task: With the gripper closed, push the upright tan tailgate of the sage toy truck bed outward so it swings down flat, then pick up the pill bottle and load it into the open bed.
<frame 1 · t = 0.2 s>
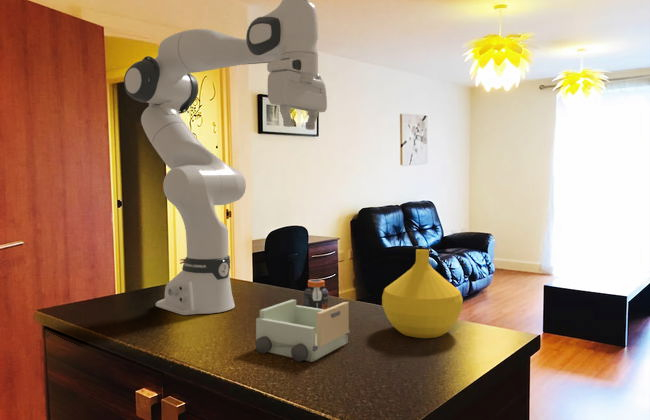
hand: (299, 128, 124), 47 cm above the kitchen counter, fingers open, 8 cm apart
tailgate: (333, 323, 107), point 6 cm above the kitchen counter, hinge at 0.0°
vase: (421, 332, 122), on the kitchen counter
truck bed: (303, 345, 112), on the kitchen counter
pill bottle: (316, 327, 126), on the kitchen counter
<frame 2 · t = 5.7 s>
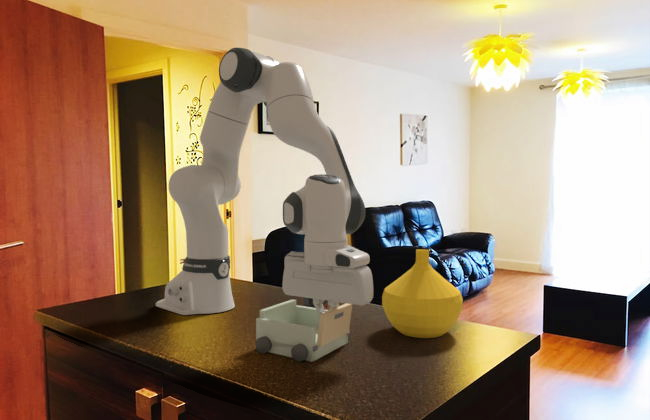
hand: (326, 320, 108), 6 cm above the kitchen counter, fingers closed
tailgate: (335, 323, 107), point 6 cm above the kitchen counter, hinge at 8.3°, touching gripper
everything else where it was.
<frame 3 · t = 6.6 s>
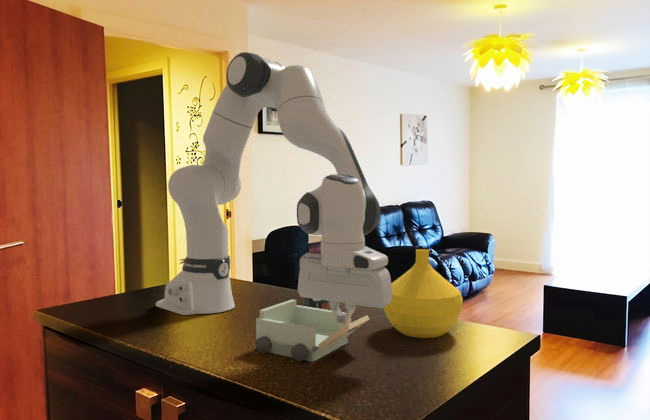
hand: (342, 323, 106), 6 cm above the kitchen counter, fingers closed
tailgate: (345, 332, 106), point 5 cm above the kitchen counter, hinge at 50.9°
everything else where it was.
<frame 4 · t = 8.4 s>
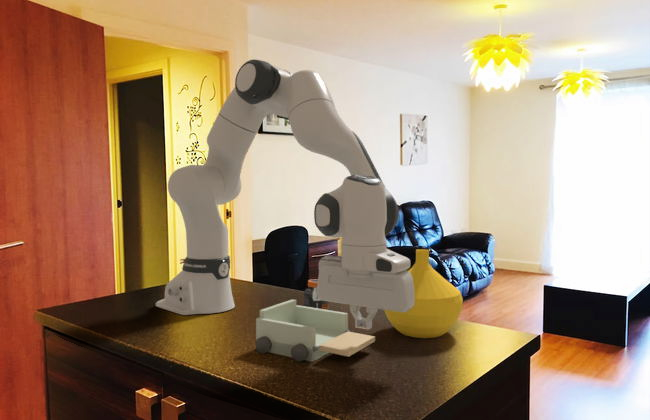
hand: (363, 328, 103), 6 cm above the kitchen counter, fingers closed
tailgate: (348, 343, 106), point 2 cm above the kitchen counter, hinge at 90.4°
everything else where it was.
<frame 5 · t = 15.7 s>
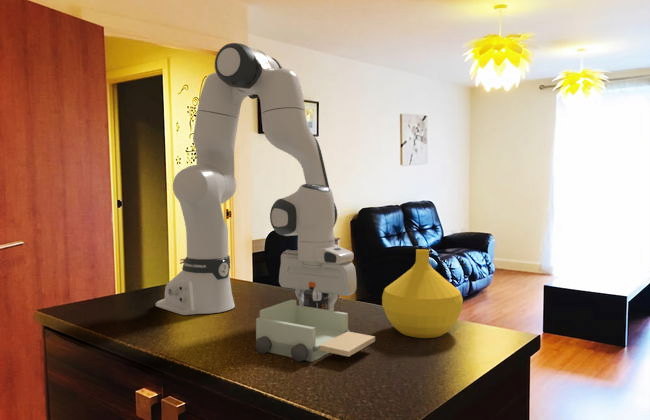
hand: (316, 309, 126), 4 cm above the kitchen counter, fingers closed on pill bottle, 6 cm apart
pill bottle: (316, 327, 126), on the kitchen counter, touching gripper
everything else where it was.
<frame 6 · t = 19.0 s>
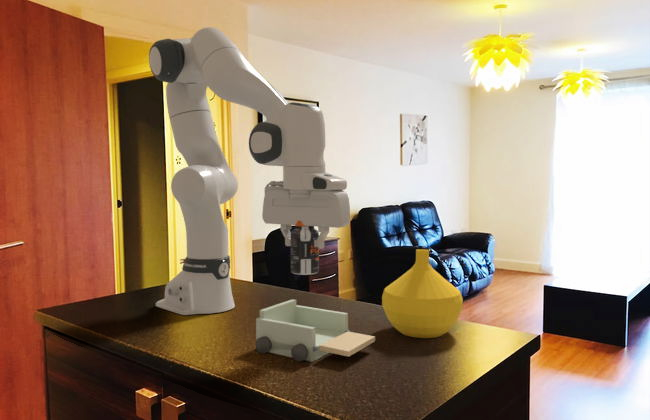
hand: (304, 247, 110), 21 cm above the kitchen counter, fingers closed on pill bottle, 6 cm apart
pill bottle: (304, 273, 111), point 16 cm above the kitchen counter, touching gripper
everything else where it was.
when the fingers open (8 cm above the kitchen counter, at t = 22.1 s): pill bottle stays where it is, resting on truck bed.
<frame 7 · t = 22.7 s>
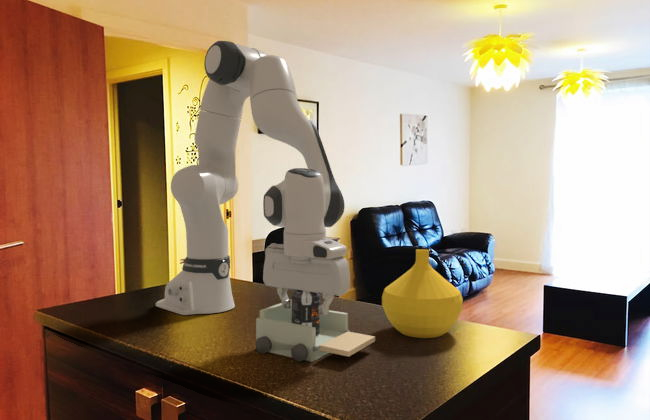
hand: (304, 311, 111), 8 cm above the kitchen counter, fingers open, 8 cm apart
pill bottle: (305, 335, 111), point 2 cm above the kitchen counter, touching truck bed
everything else where it was.
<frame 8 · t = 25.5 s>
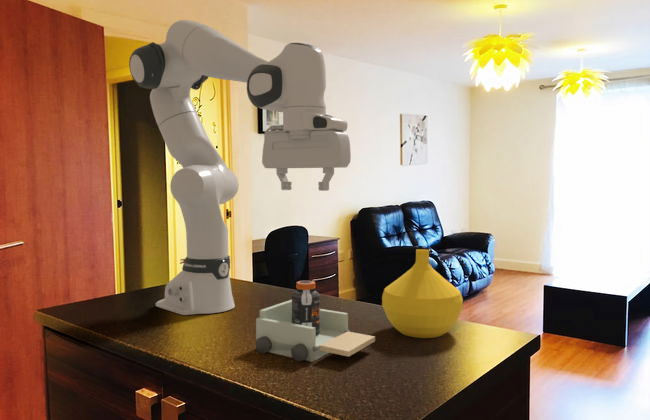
hand: (304, 190, 109), 33 cm above the kitchen counter, fingers open, 8 cm apart
nothing on the kitchen counter moved.
at the end: tailgate at +90° (first picture: +0°); pill bottle inside the target area on the truck bed (0.6 cm from its centre), point 2.3 cm above the truck bed's base; pill bottle tilted 0° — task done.
